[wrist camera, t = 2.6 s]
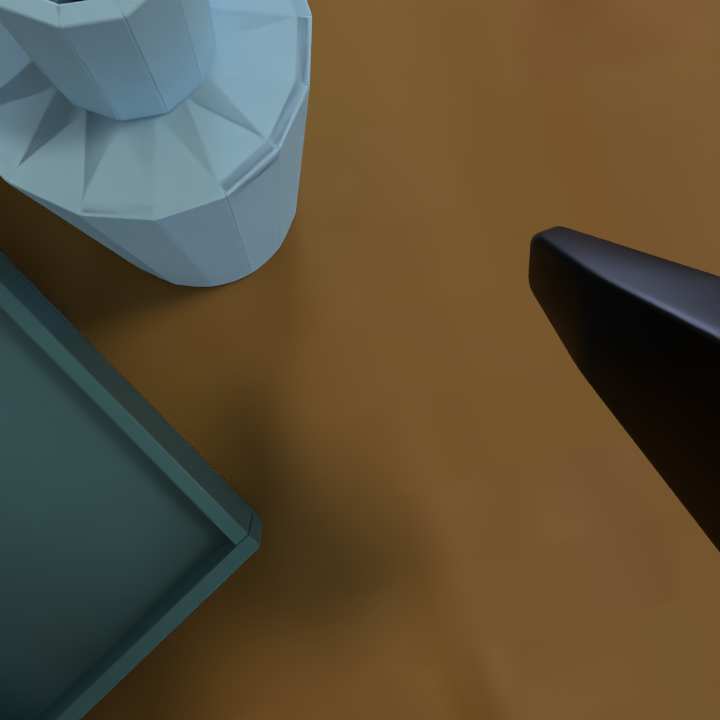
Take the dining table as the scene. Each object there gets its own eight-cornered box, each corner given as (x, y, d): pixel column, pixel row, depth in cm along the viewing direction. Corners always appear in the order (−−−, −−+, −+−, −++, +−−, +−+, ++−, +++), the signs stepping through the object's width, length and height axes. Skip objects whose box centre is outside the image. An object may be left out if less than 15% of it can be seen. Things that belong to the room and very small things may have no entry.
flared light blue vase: (334, 200, 21) (422, -54, 8) (195, 326, 20) (49, 270, 7) (204, 56, 20) (76, -464, 8) (56, 181, 20) (-359, -152, 7)
